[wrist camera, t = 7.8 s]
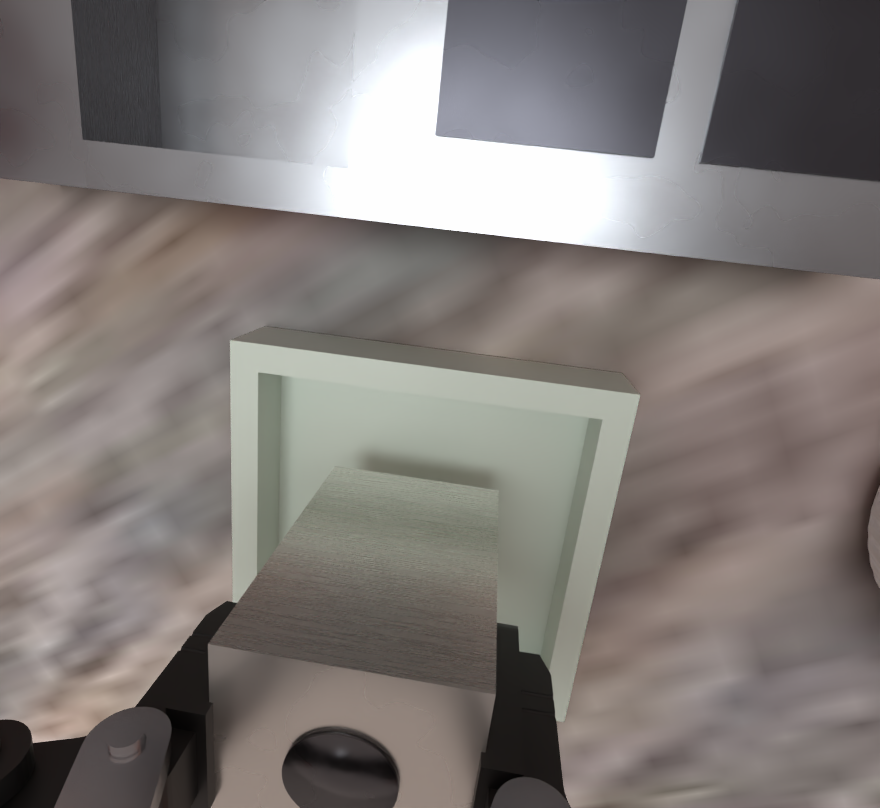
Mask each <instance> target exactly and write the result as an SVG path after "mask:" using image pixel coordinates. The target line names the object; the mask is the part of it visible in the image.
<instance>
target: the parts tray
mask: <svg viewBox="0 0 880 808" xmlns="http://www.w3.org/2000/svg"><path fill="white" fill-rule="evenodd" d="M230 390H231V490H232V589H233V602H235V603H238V601H239V600H240V598H241V597H242V596H243V594H244V593H245V591H246V590H247V589H248V587H249V586H250V584H251V583H252V582H253V580H254V579H255V577H256V576H257V575H258V573H259V572H260V570H261V569H262V568H263V566H264V565H265V563H266V562H267V561H268V559H269V558H270V556H271V555H272V554H273V552H274V551H275V549H276V548H277V547H278V545H279V544H280V542H281V541H282V540H283V538H284V537H285V535H286V534H287V533H288V531H289V530H290V528H291V527H292V526H293V524H294V523H295V521H296V520H297V519H298V517H299V516H300V514H301V513H302V512H303V510H304V509H305V507H306V506H307V505H308V503H309V502H310V500H311V499H312V498H313V496H314V495H315V493H316V492H317V490H318V489H319V488H320V486H321V485H322V483H323V482H324V481H325V479H326V478H327V476H328V475H329V474H330V472H331V471H332V469H333V468H334V467H335V466H340V467H347V468H353V469H360V470H367V471H373V472H380V473H387V474H393V475H400V476H407V477H413V478H420V479H427V480H434V481H440V482H447V483H454V484H460V485H467V486H474V487H480V488H487V489H494V490H499V504H498V573H497V623H503V624H509V625H515V626H518V632H519V651H521V652H527V653H533V654H539V655H540V656H541V658H542V660H543V662H544V663H545V665H546V667H547V668H548V670H549V672H550V674H551V679H552V688H553V700H554V706H555V718H556V721H560V722H564V721H565V717H566V713H567V708H568V704H569V700H570V695H571V691H572V687H573V682H574V678H575V674H576V670H577V665H578V661H579V657H580V652H581V648H582V644H583V639H584V635H585V631H586V627H587V622H588V618H589V614H590V609H591V605H592V601H593V596H594V592H595V588H596V583H597V579H598V575H599V571H600V566H601V562H602V558H603V553H604V549H605V545H606V540H607V536H608V532H609V528H610V523H611V519H612V515H613V510H614V506H615V502H616V497H617V493H618V489H619V485H620V480H621V476H622V472H623V467H624V463H625V459H626V454H627V450H628V446H629V442H630V437H631V433H632V429H633V424H634V420H635V416H636V411H637V407H638V403H639V398H640V394H639V393H638V391H637V390H636V389H635V388H634V387H633V386H632V384H631V383H630V382H629V381H628V380H627V378H626V377H625V376H624V375H623V374H622V373H617V372H610V371H602V370H595V369H587V368H579V367H572V366H564V365H556V364H549V363H541V362H533V361H526V360H518V359H511V358H503V357H495V356H488V355H480V354H472V353H465V352H457V351H450V350H442V349H434V348H427V347H419V346H411V345H404V344H396V343H389V342H381V341H373V340H366V339H358V338H350V337H343V336H335V335H327V334H320V333H312V332H305V331H297V330H289V329H282V328H274V327H266V326H264V327H262V328H259V329H257V330H254V331H252V332H249V333H247V334H244V335H242V336H239V337H237V338H234V339H231V340H230Z"/></svg>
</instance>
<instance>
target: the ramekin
mask: <svg viewBox="0 0 880 808" xmlns="http://www.w3.org/2000/svg"><path fill="white" fill-rule="evenodd" d="M868 551H869V558H870V565H871V568H872V570H873V573H874V578H875V581H876V583H877V585H878V587H879V588H880V486H879V488H878V491H877V494H876V496H875V499H874V503H873V505H872V508H871V515H870V520H869V524H868Z"/></svg>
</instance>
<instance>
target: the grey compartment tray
mask: <svg viewBox="0 0 880 808" xmlns="http://www.w3.org/2000/svg"><path fill="white" fill-rule="evenodd" d="M0 178H3V179H12V180H21V181H29V182H38V183H47V184H56V185H64V186H73V187H82V188H90V189H99V190H108V191H116V192H125V193H134V194H142V195H151V196H160V197H169V198H177V199H186V200H195V201H203V202H212V203H221V204H229V205H238V206H247V207H255V208H264V209H273V210H282V211H290V212H299V213H308V214H316V215H325V216H334V217H342V218H351V219H360V220H368V221H377V222H386V223H395V224H403V225H412V226H421V227H429V228H438V229H447V230H455V231H464V232H473V233H482V234H490V235H499V236H508V237H516V238H525V239H534V240H542V241H551V242H560V243H568V244H577V245H586V246H595V247H603V248H612V249H621V250H629V251H638V252H647V253H655V254H664V255H673V256H681V257H690V258H699V259H708V260H716V261H725V262H734V263H742V264H751V265H760V266H768V267H777V268H786V269H794V270H803V271H812V272H821V273H829V274H838V275H847V276H855V277H864V278H873V279H880V0H0Z"/></svg>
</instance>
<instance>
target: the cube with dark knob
mask: <svg viewBox="0 0 880 808" xmlns="http://www.w3.org/2000/svg"><path fill="white" fill-rule="evenodd" d="M498 504H499V490H494V489H487V488H480V487H474V486H467V485H460V484H454V483H447V482H440V481H434V480H427V479H420V478H413V477H407V476H400V475H393V474H387V473H380V472H373V471H367V470H360V469H353V468H347V467H340V466H335V467H334V468H333V469H332V471H331V472H330V474H329V475H328V476H327V478H326V479H325V481H324V482H323V483H322V485H321V486H320V488H319V489H318V490H317V492H316V493H315V495H314V496H313V498H312V499H311V500H310V502H309V503H308V505H307V506H306V507H305V509H304V510H303V512H302V513H301V514H300V516H299V517H298V519H297V520H296V521H295V523H294V524H293V526H292V527H291V528H290V530H289V531H288V533H287V534H286V535H285V537H284V538H283V540H282V541H281V542H280V544H279V545H278V547H277V548H276V549H275V551H274V552H273V554H272V555H271V556H270V558H269V559H268V561H267V562H266V563H265V565H264V566H263V568H262V569H261V570H260V572H259V573H258V575H257V576H256V577H255V579H254V580H253V582H252V583H251V584H250V586H249V587H248V589H247V590H246V591H245V593H244V594H243V596H242V597H241V598H240V600H239V601H238V603H237V604H236V605H235V607H234V608H233V610H232V611H231V612H230V614H229V615H228V617H227V618H226V619H225V621H224V622H223V624H222V625H221V626H220V628H219V629H218V631H217V632H216V633H215V635H214V636H213V638H212V639H211V640H210V642H209V643H208V670H209V702H212V703H213V719H214V763H215V800H214V802H213V804H212V808H471V806H472V800H473V795H474V789H475V784H476V778H477V772H478V767H479V761H480V755H481V752H485V751H486V746H487V740H488V735H489V729H490V724H491V718H492V712H493V707H494V701H495V696H496V642H497V573H498Z"/></svg>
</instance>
